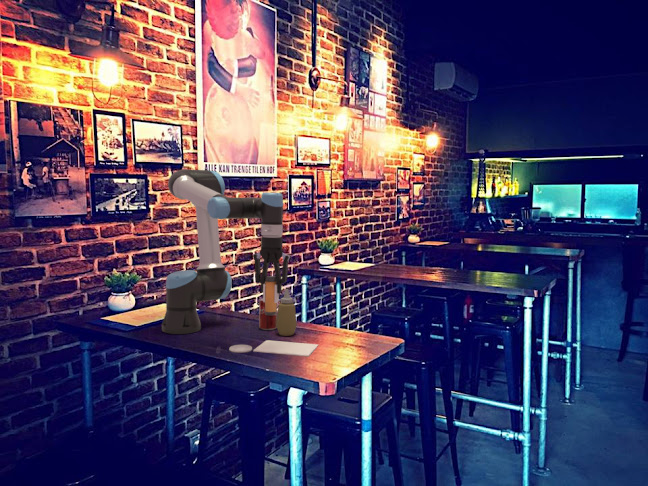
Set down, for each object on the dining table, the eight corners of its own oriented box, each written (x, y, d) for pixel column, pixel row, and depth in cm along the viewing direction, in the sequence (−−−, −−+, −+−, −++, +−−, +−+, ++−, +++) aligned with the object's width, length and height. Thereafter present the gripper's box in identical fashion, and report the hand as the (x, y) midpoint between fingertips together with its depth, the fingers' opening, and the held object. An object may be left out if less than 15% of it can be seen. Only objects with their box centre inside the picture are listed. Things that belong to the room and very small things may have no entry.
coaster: (225, 351, 186) (225, 349, 186) (234, 345, 194) (234, 343, 194) (247, 353, 184) (247, 351, 184) (255, 347, 192) (255, 345, 192)
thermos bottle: (263, 315, 190) (263, 277, 189) (267, 312, 194) (267, 275, 193) (274, 315, 189) (275, 277, 188) (278, 313, 193) (278, 276, 192)
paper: (253, 351, 187) (253, 350, 187) (266, 341, 200) (266, 340, 200) (308, 356, 182) (308, 355, 182) (318, 345, 196) (318, 344, 196)
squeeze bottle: (300, 333, 213) (300, 288, 212) (290, 338, 206) (291, 291, 204) (282, 330, 217) (282, 286, 215) (272, 335, 209) (272, 289, 208)
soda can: (278, 326, 224) (278, 298, 223) (275, 330, 216) (275, 301, 215) (261, 325, 224) (261, 297, 223) (257, 330, 217) (257, 300, 216)
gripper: (245, 236, 188) (245, 302, 190) (291, 238, 184) (290, 305, 186) (253, 234, 195) (252, 298, 197) (297, 236, 191) (296, 301, 193)
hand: (270, 301), depth 191 cm, fingers closed on thermos bottle, 3 cm apart
